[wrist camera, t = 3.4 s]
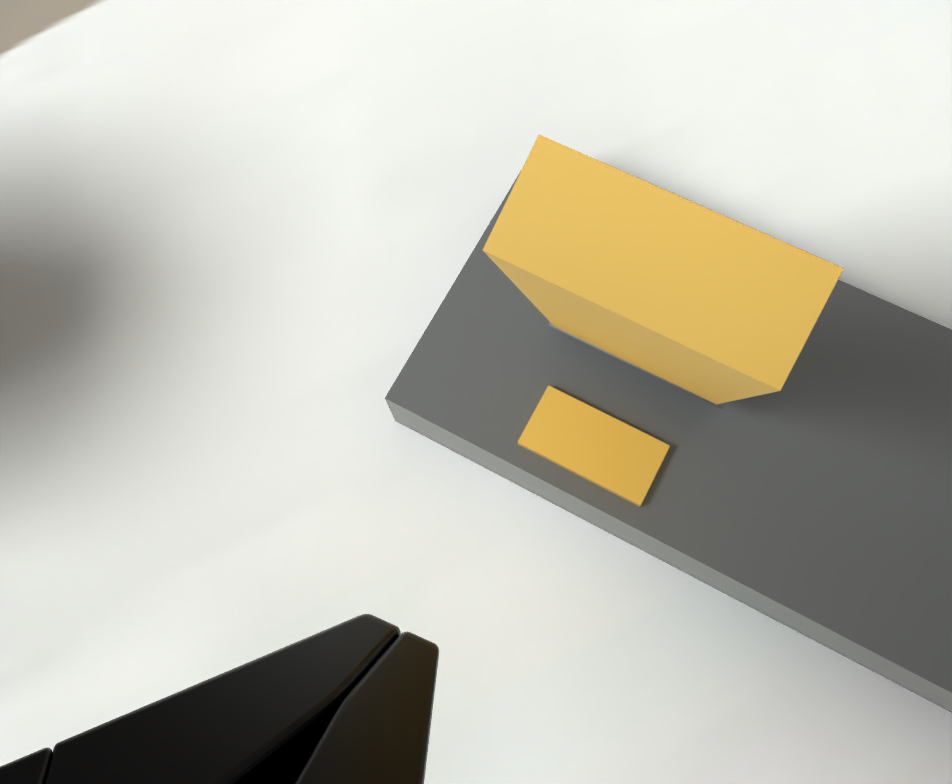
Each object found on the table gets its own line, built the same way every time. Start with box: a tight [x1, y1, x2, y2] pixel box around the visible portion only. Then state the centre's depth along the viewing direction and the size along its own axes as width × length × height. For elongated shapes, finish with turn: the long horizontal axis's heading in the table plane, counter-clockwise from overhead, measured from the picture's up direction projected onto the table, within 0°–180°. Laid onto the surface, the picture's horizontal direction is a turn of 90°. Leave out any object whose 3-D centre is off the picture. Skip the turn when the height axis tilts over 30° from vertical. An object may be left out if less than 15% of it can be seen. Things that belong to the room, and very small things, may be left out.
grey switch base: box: [385, 173, 952, 712], centre depth 21 cm, size 21×8×2 cm, turn 61°
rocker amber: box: [483, 135, 844, 409], centre depth 16 cm, size 2×4×11 cm, turn 62°
